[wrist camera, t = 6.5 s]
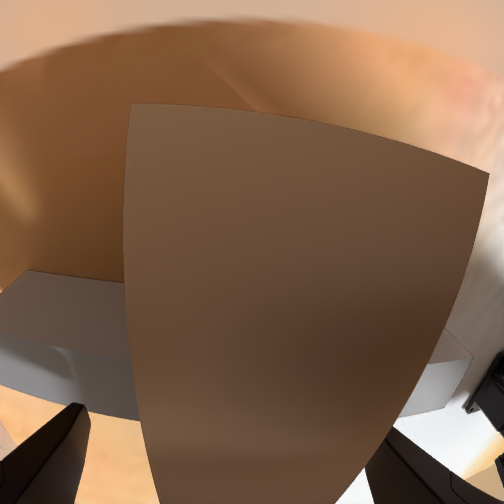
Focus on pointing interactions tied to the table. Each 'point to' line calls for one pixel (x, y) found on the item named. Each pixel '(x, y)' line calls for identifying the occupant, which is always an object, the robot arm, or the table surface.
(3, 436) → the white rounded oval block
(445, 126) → the table surface
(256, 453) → the walnut slat
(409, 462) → the robot arm
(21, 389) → the notched gray bar
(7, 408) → the table surface
